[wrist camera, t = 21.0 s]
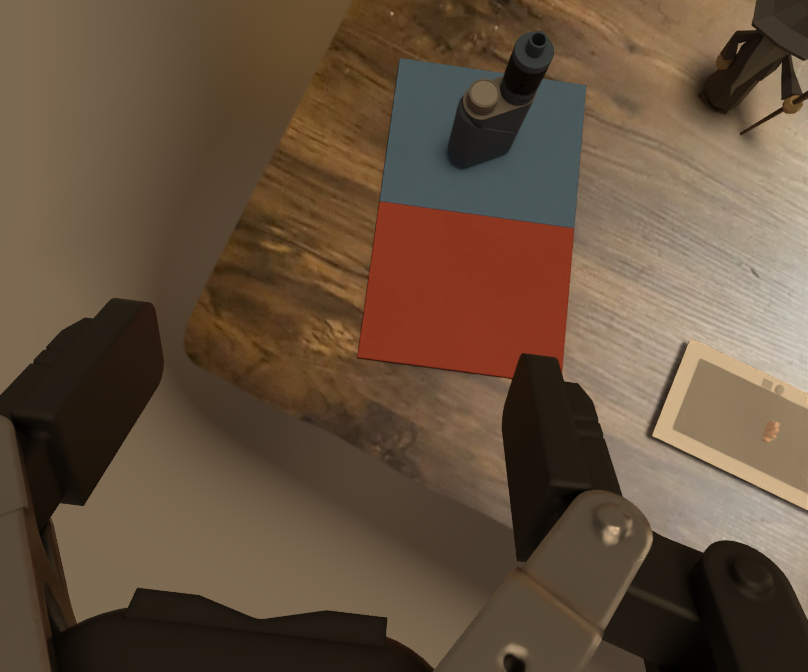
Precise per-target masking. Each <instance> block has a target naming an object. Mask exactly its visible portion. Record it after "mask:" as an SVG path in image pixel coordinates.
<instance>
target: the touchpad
mask: <svg viewBox="0 0 808 672" xmlns="http://www.w3.org/2000/svg"><path fill="white" fill-rule="evenodd" d="M652 436H654V437H656V438H658V439H660V440H662V441H664V442H666V443H668V444H670V445H672V446H675V447H677V448H679V449H681V450H683V451H685V452H687V453H689V454H691V455H693V456H695V457H697V458H700V459H702V460H704V461H706V462H708V463H710V464H712V465H714V466H716V467H718V468H720V469H723V470H725V471H727V472H729V473H731V474H733V475H735V476H737V477H739V478H741V479H743V480H745V481H748V482H750V483H752V484H754V485H756V486H758V487H760V488H762V489H764V490H766V491H768V492H771V493H773V494H775V495H777V496H779V497H781V498H783V499H785V500H787V501H789V502H791V503H793V504H796V505H798V506H800V507H802V508H804V509H806V510H808V393H805V392H803V391H801V390H799V389H797V388H795V387H793V386H791V385H789V384H786V383H784V382H782V381H780V380H778V379H776V378H774V377H772V376H770V375H767V374H765V373H763V372H761V371H759V370H757V369H755V368H753V367H751V366H748V365H746V364H744V363H742V362H740V361H738V360H736V359H734V358H732V357H729V356H727V355H725V354H723V353H721V352H719V351H717V350H715V349H713V348H710V347H708V346H706V345H704V344H702V343H700V342H698V341H696V340H694V339H691V338H690V341H689V343H688V346H687V348H686V351H685V354H684V356H683V359H682V361H681V364H680V366H679V369H678V371H677V374H676V376H675V379H674V381H673V384H672V386H671V389H670V391H669V394H668V396H667V399H666V401H665V404H664V406H663V409H662V412H661V414H660V417H659V419H658V422H657V424H656V427H655V429H654V432H653V434H652Z"/></svg>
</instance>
